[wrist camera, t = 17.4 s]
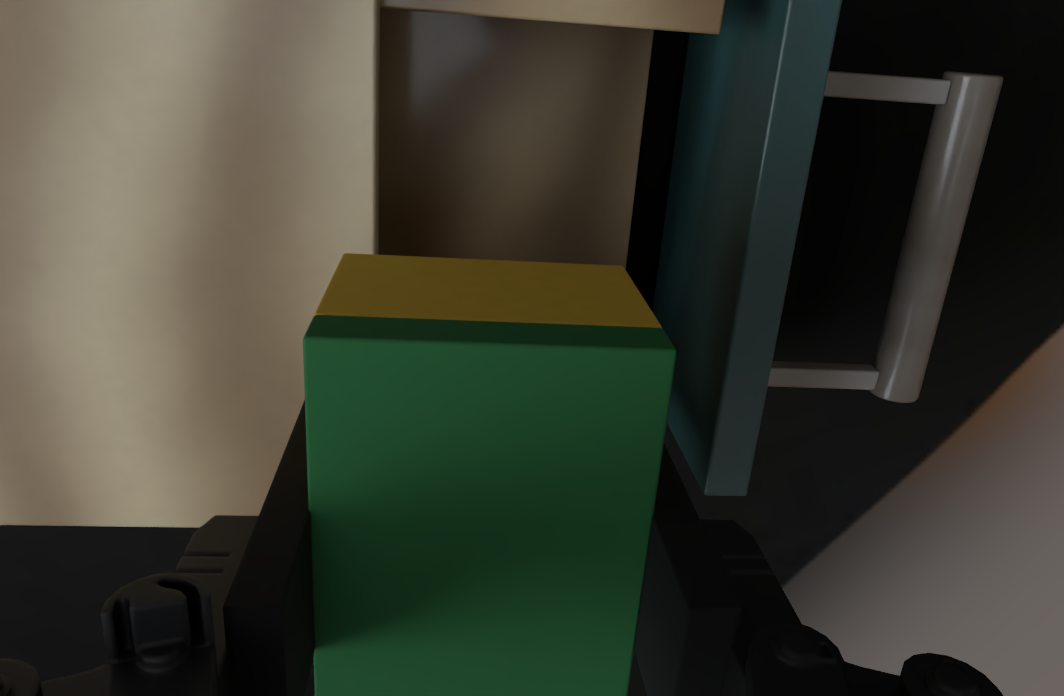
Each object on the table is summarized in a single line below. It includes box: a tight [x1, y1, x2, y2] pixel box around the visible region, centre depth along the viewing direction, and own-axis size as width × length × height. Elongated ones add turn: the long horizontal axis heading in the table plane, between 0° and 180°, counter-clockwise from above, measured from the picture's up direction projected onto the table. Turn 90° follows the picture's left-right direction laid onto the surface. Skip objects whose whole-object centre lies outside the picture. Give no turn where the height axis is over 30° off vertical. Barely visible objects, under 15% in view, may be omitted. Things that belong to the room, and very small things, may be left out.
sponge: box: [303, 253, 677, 696], centre depth 16 cm, size 8×6×4 cm, turn 176°
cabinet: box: [0, 0, 380, 527], centre depth 22 cm, size 15×14×10 cm
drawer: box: [378, 0, 1003, 496], centre depth 23 cm, size 20×13×8 cm, turn 86°
